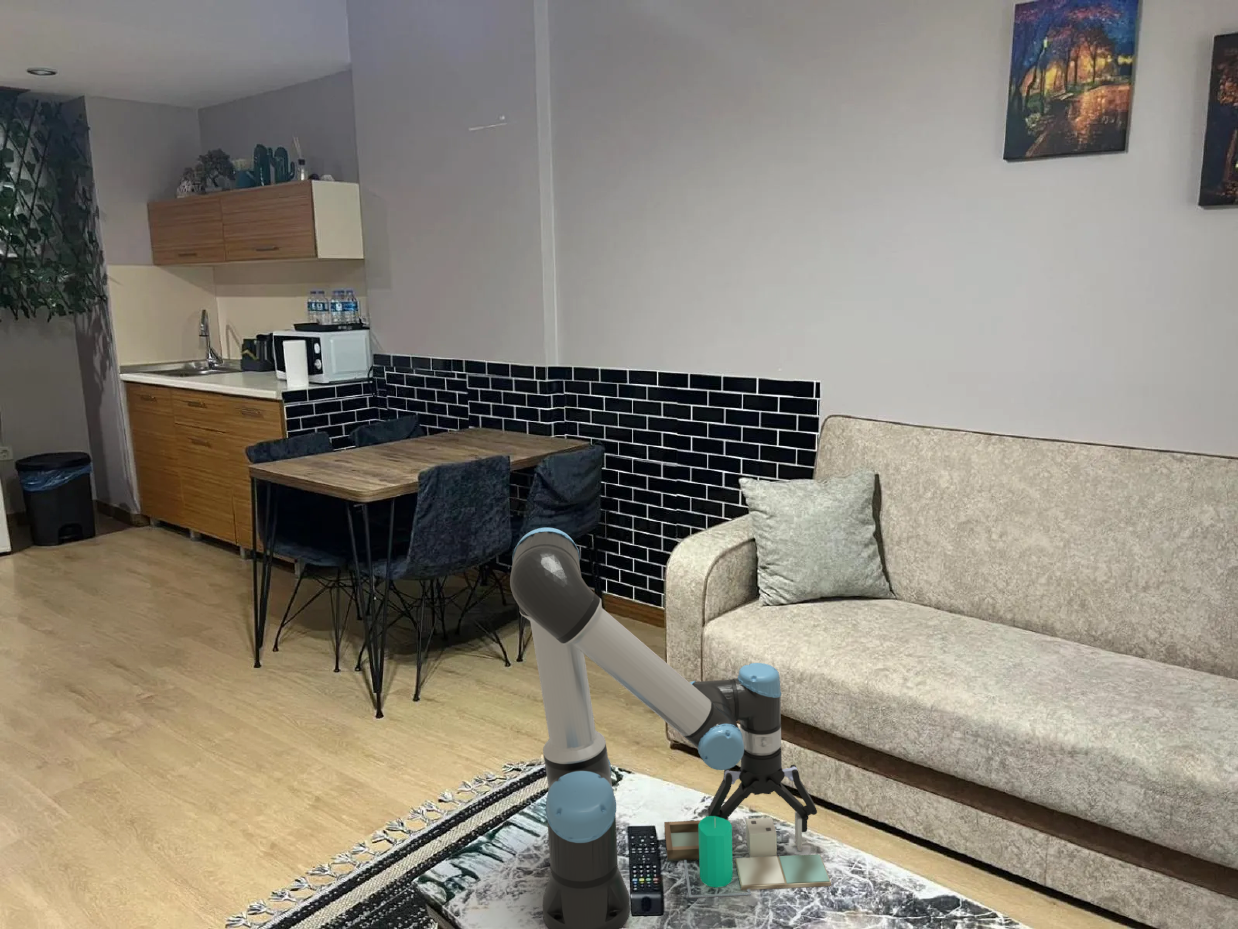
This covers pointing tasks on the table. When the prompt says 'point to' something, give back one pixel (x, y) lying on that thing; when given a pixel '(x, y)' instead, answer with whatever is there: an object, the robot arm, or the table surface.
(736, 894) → the pad
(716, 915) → the table surface
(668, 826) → the tray
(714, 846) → the candle
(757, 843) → the die
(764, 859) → the beige green flat slab
